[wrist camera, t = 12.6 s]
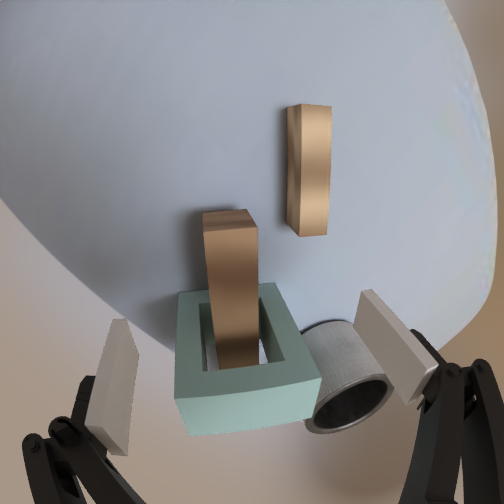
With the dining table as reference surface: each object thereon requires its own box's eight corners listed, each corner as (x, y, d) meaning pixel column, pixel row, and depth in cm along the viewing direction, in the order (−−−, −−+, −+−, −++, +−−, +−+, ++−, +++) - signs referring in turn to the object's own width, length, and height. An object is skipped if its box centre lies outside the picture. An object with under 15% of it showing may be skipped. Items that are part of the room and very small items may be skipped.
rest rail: (287, 107, 24) (301, 103, 21) (313, 109, 25) (331, 106, 21) (286, 223, 29) (299, 237, 26) (311, 221, 30) (326, 234, 26)
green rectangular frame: (178, 292, 30) (174, 398, 17) (275, 282, 32) (322, 377, 19) (186, 333, 33) (189, 436, 20) (273, 323, 34) (311, 417, 21)
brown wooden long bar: (201, 212, 25) (202, 232, 20) (246, 209, 25) (258, 227, 21) (220, 378, 34) (225, 409, 29) (252, 374, 34) (259, 404, 30)
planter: (282, 386, 41) (302, 444, 31) (279, 329, 35) (306, 396, 25) (353, 366, 42) (383, 415, 32) (364, 308, 37) (407, 360, 27)
